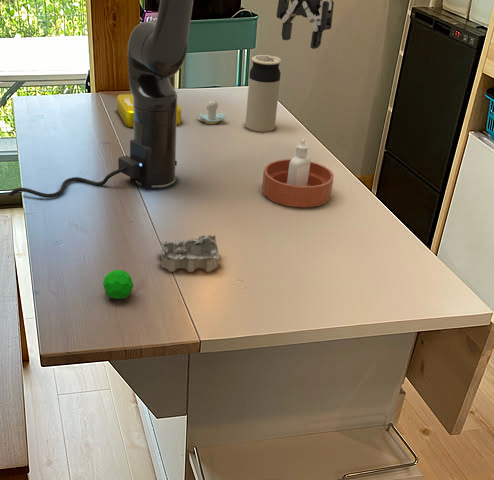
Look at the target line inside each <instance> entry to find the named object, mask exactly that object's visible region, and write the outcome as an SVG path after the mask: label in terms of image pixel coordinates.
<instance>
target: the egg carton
mask: <svg viewBox="0 0 494 480" xmlns="http://www.w3.org/2000/svg"><path fill="white" fill-rule="evenodd" d="M160 250H161V251H160V254H161V256H160V257H161V267H162V268H163V269H165V270H168V272H171V273H172V272H173V273H174V272H175V271H176V270H178V269H184V270H186V271H187V272H188V273H189V272H194V271H195V270H197V269H203V270H205V271H206V272H207V273H209V272H210V273H211V272H212V271H213V270H215V269H217V268H218V265H219V259H220V255H219V248H218V242H217V237H216V235H211V234H208V235H205V234H204V235H201V236H198V238H192V237H191V238H190V239H183V240H182V239H178V240H173V241H163V240H162V241H160Z"/></svg>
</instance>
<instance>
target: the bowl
mask: <svg viewBox="0 0 494 480" xmlns="http://www.w3.org/2000/svg"><path fill="white" fill-rule="evenodd" d="M291 159H292V158H284V159H277V160H274V161H271V162H269V163H267V165H265V166H264V168H263V172H262V184H261V191H262V194H263V196H265V197H266V198H267V199H269V200H271V201H272V202H274V203H276V204H280V205H284V206H287V207H294V208H312V207H318V206H321V205H324V204H326V203H327V202H328V201H329V200H330V199H331V195H332V189H333V184H334V176H335V174H334V173H333V171H332V170H331V169H329V168H328V167H327V166H326V165H323V164H320V163H319V162H315V161H311V162H310V170H309V177H308V184H307V186H295V185H289V184H287V178H288V171H289V164H290V161H291Z"/></svg>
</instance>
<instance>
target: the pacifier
mask: <svg viewBox="0 0 494 480" xmlns="http://www.w3.org/2000/svg"><path fill="white" fill-rule="evenodd" d="M218 108H219V103H218V101H216V100H215V99H212V100H209V101H208V102H207V104H206V109H207V110H208V111H207V113H198V116H199V117H198V121H201V122H204V123H205V124H208V125H215V124H218V123H219V122H221V121H223V120H224V119H225V118H226V113H225V112H217V110H218Z"/></svg>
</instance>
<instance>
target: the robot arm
mask: <svg viewBox="0 0 494 480" xmlns="http://www.w3.org/2000/svg"><path fill="white" fill-rule="evenodd" d="M194 1H195V0H159V7H158V11H157V12H158V13H157V18H156V22H154V21H149V20H148V21H143V22H141V23H139V24H136V26H135V27H134V28H133V30H132V32H131V33H130V35H129V39H128V42H127V69H128V84H129V90H130V92H131V93H130V94H132V95H133V109H134V128H133V138H132V139H130V140H129V155H124V156H123V155H122V156H120V157H118V158H117V159H118V160H117V161H118V162H117V165H118V169H115V170H113V171H112V172H110V173H108V174H107V175H106V176H105V177H104V178H103V179H102V180H101V181H92V180H89V179H86V178H84V177H79V176H73V177H69V178H66V179H65V180H64V181H63V182H62V184H61V187H60V189H59V190H58V191H56V192H52V193H45V192H41V191H38V190H34V189H31V188H27V187H17V188H14V189H12V190H11V191H10V192H9V193H7V196H8V197H11V196H14V195H15V194H17V193H28V194H32V195H34V196H37V197H40V198H46V199H47V198H48V199H49V198H56V197H59V196H61V195H62V194H63V193H64V191H65V189H66V186H67V185H68V184H69V183H71V182H81V183H85V184H88V185H91V186H96V187H101V186H104V185H106V184H107V182H108V181H109V180H110V179H111V178H113V177H114V176H116V175H118V174H120V173H122V174H124V175H126V176H127V177H129V180H130V182H132V183H134V184H136V185H138V186H139V187H142V188H143V189H145V190H151V189H152V190H153V189H164V188H169V187H171V186H172V185H174V184H175V183H176V167H177V163H178V162H177V160H176V156H177V155H176V154H177V153H176V152H177V125H176V123H177V104H178V94H177V91H176V89H175V88H174V86H173V85H172V83H171V82H170V81H171V80H170V79H169V78H170V77H171V78H172V77H173V76H174V75H176V74H177V73H178V72H180V69H181V68H182V66H183V64H184V62H185V59H186V55H187V51H188V46H189V45H188V44H189V36H190V30H191V29H190V28H191V19H192V13H193V6H194ZM290 3H291V5H290ZM334 5H335V2H334V0H278V2H277V9H276V16H275V17H276V18H277V19H279V20H281V22H282V27H281V38H282V40H283V41H289V40H291V39H292V31H293V30H292V29H293V21H294V19H295V18H296V17H297V16H298V17H299V16H301V17H303V18H307V19H308V22H309V23H310V24H311V26H312V29H313V31H312V34H311V40H310V49H312V50H314V49H318V48H320V46H321V44H322V38H323V32H324V31H326V30H331V29H332V24H333V15H334V14H333V13H334Z"/></svg>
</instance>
